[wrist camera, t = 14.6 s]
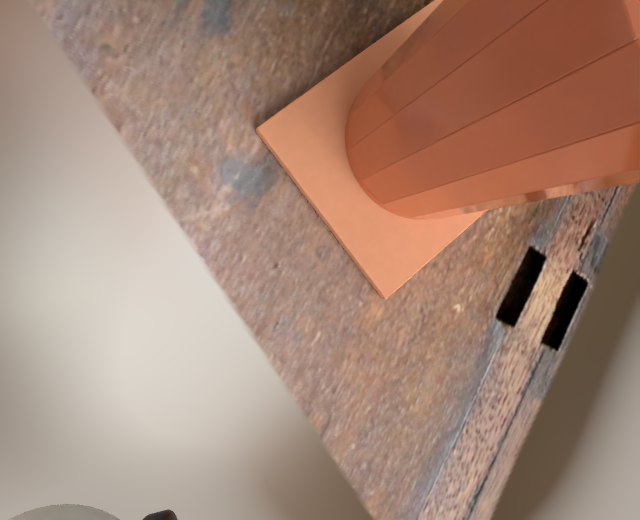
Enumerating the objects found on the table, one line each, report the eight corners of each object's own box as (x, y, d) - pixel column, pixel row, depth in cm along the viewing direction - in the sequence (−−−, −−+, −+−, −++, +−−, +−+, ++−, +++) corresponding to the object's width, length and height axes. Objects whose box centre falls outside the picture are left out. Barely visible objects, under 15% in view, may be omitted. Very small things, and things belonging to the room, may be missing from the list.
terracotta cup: (377, 242, 20) (685, 207, 7) (321, 90, 19) (553, -232, 7) (504, 190, 22) (933, 88, 9) (456, 48, 21) (844, -273, 8)
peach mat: (381, 298, 20) (386, 299, 20) (254, 131, 19) (256, 127, 19) (544, 155, 23) (552, 153, 22) (442, -4, 21) (447, -10, 21)
